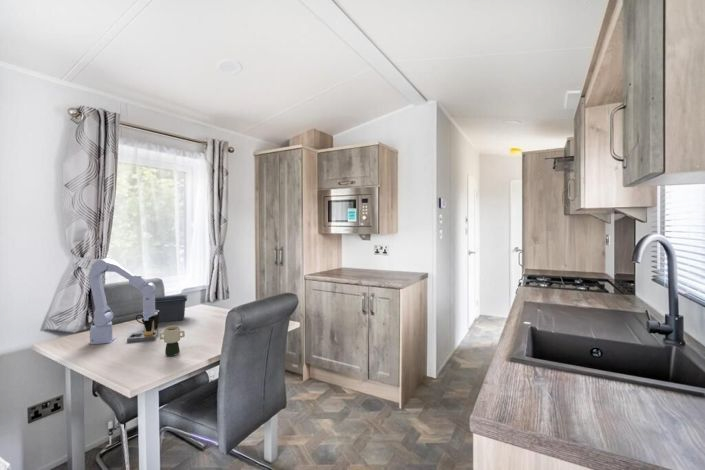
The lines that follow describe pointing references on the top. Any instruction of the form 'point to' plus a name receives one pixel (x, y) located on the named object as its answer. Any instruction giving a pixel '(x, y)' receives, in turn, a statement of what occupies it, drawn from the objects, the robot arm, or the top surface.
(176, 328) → the beige trophy cup
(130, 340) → the socket
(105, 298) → the robot arm
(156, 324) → the coffee mug
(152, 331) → the brass peg
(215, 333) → the top surface
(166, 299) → the storage bin
